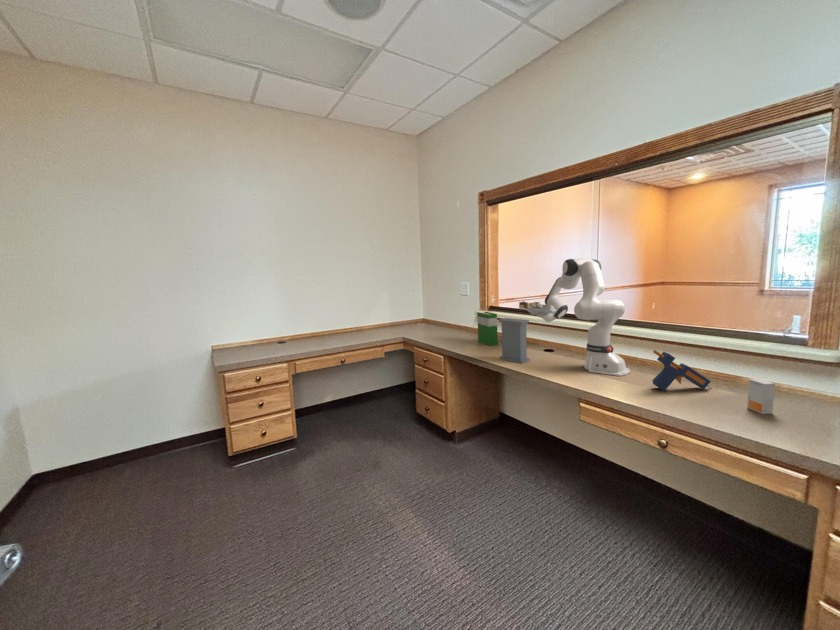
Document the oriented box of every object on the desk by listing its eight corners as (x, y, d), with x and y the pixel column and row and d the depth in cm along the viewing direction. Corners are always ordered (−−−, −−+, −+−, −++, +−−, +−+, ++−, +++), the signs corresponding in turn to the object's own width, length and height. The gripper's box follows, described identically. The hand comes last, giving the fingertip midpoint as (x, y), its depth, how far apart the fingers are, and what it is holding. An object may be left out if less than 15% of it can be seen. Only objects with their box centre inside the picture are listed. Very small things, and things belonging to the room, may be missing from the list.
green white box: (478, 341, 278) (477, 312, 275) (486, 340, 280) (485, 311, 277) (489, 346, 262) (488, 314, 258) (497, 344, 264) (496, 313, 261)
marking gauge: (534, 305, 235) (534, 298, 235) (541, 305, 232) (541, 298, 231) (517, 308, 223) (517, 301, 222) (524, 309, 219) (524, 301, 218)
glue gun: (695, 411, 157) (718, 386, 154) (641, 376, 155) (663, 349, 152) (686, 405, 163) (707, 380, 160) (634, 371, 161) (655, 345, 158)
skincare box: (746, 408, 135) (748, 378, 133) (756, 407, 135) (758, 378, 134) (762, 414, 129) (765, 384, 127) (773, 413, 129) (776, 383, 128)
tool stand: (529, 360, 216) (529, 320, 213) (522, 363, 211) (521, 321, 208) (507, 356, 229) (506, 318, 226) (499, 358, 224) (498, 319, 221)
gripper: (556, 317, 230) (547, 308, 222) (529, 314, 246) (519, 307, 237) (559, 308, 231) (549, 300, 223) (532, 306, 247) (522, 298, 239)
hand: (534, 303), depth 230 cm, fingers closed on marking gauge, 2 cm apart
